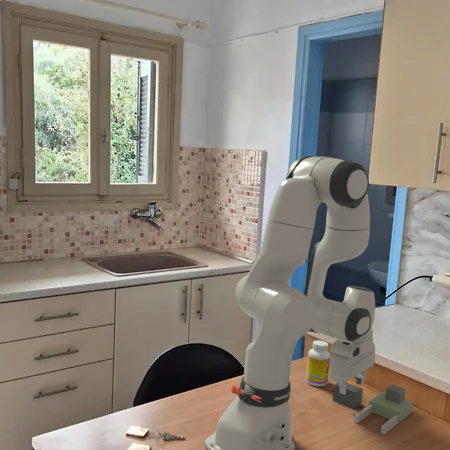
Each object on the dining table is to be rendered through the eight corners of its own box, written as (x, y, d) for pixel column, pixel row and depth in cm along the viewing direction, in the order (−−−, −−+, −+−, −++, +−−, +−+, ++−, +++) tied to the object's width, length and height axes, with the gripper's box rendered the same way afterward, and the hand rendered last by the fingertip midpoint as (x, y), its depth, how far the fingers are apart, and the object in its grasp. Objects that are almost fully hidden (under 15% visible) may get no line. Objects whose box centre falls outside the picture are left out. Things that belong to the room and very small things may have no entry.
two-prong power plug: (385, 435, 132) (387, 413, 131) (353, 421, 138) (355, 400, 137) (411, 412, 146) (414, 392, 145) (381, 400, 151) (383, 381, 150)
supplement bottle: (327, 388, 157) (331, 348, 155) (305, 385, 158) (309, 345, 156) (327, 380, 163) (331, 340, 162) (306, 376, 165) (310, 338, 163)
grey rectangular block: (361, 405, 148) (363, 388, 147) (354, 409, 145) (356, 392, 144) (339, 396, 152) (341, 380, 152) (332, 400, 149) (334, 384, 149)
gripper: (362, 330, 156) (358, 374, 158) (327, 347, 141) (323, 395, 143) (382, 336, 152) (378, 381, 154) (348, 354, 137) (344, 403, 139)
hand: (351, 388), depth 148 cm, fingers open, 8 cm apart
